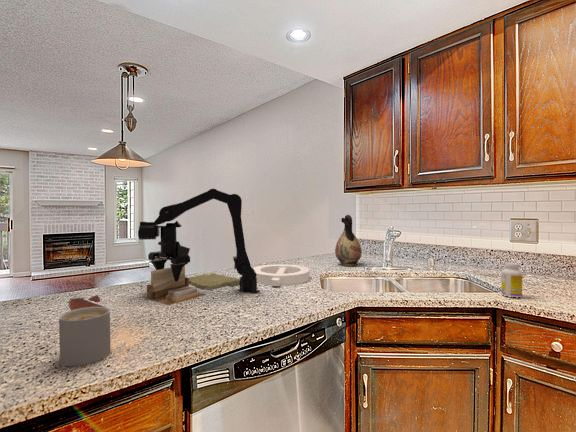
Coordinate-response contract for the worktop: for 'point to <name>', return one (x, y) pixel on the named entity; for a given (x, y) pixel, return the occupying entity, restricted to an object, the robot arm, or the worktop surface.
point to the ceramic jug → (348, 245)
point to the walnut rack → (165, 293)
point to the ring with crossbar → (282, 274)
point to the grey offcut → (182, 291)
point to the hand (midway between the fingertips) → (169, 279)
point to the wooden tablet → (84, 303)
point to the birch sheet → (166, 279)
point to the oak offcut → (178, 299)
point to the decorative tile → (213, 281)
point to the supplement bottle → (511, 280)
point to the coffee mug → (84, 336)
